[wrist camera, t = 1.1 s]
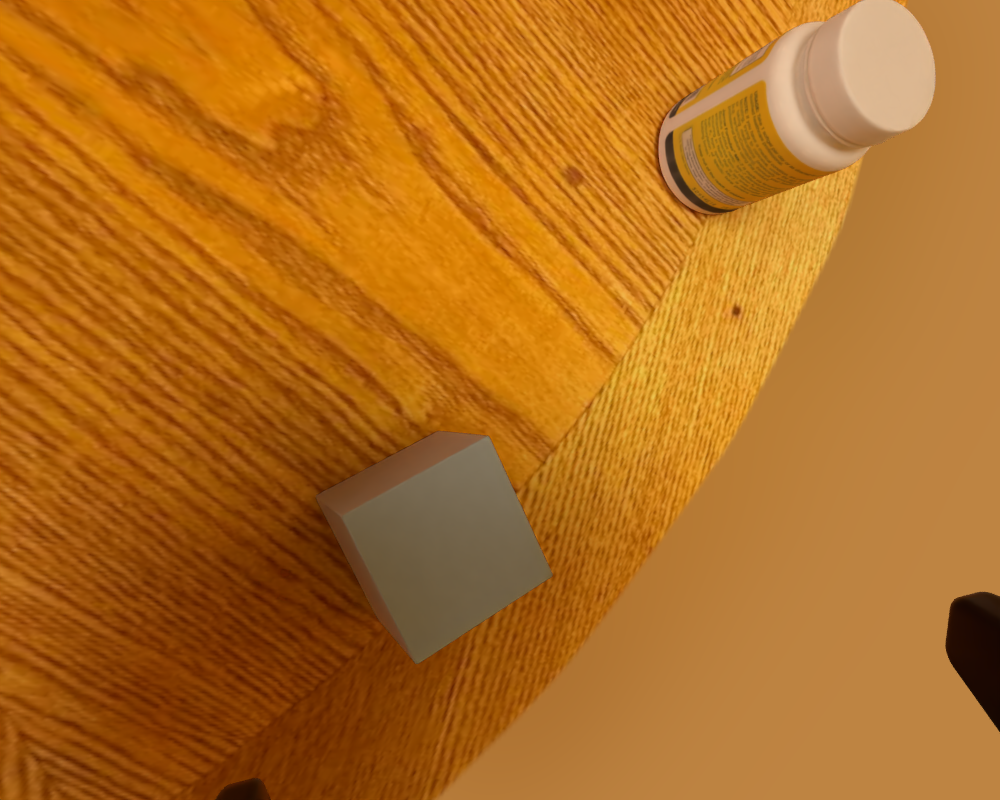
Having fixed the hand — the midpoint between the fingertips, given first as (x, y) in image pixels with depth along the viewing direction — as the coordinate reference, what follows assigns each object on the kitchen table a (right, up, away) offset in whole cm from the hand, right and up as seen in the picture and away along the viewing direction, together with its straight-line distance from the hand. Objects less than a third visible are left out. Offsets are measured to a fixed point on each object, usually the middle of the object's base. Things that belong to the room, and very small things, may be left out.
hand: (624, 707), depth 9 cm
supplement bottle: (+7, +14, +20) cm, 25 cm away
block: (-5, 0, +15) cm, 16 cm away
